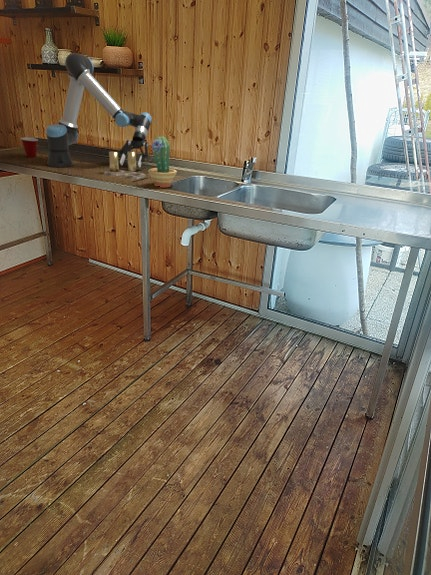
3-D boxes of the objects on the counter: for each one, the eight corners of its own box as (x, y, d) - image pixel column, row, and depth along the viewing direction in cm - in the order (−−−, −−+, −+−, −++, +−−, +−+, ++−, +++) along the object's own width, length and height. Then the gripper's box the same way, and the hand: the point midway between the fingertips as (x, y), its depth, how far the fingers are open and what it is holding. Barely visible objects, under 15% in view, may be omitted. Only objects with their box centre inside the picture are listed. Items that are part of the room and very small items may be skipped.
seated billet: (108, 173, 231) (107, 152, 225) (113, 172, 235) (112, 151, 229) (115, 174, 229) (114, 153, 224) (120, 173, 233) (119, 152, 228)
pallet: (100, 176, 228) (100, 171, 227) (115, 173, 240) (115, 168, 239) (134, 182, 220) (133, 177, 219) (148, 178, 232) (148, 173, 230)
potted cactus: (143, 183, 218) (142, 135, 207) (167, 181, 226) (167, 134, 215) (156, 189, 207) (156, 138, 196) (182, 187, 216) (183, 138, 204)
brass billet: (126, 172, 244) (125, 151, 239) (131, 171, 248) (130, 150, 243) (133, 173, 242) (132, 152, 237) (138, 172, 246) (137, 151, 241)
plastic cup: (36, 158, 269) (34, 139, 263) (20, 157, 268) (17, 138, 263) (43, 156, 278) (40, 137, 273) (27, 155, 278) (24, 136, 273)
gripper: (159, 141, 249) (149, 170, 242) (124, 138, 253) (114, 166, 247) (156, 132, 242) (146, 162, 235) (120, 129, 246) (109, 159, 240)
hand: (130, 164), depth 241 cm, fingers open, 11 cm apart
